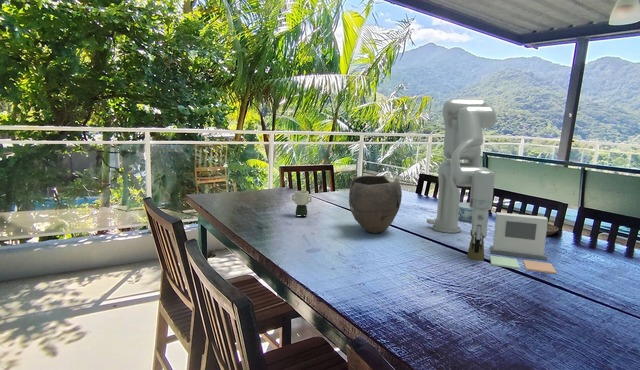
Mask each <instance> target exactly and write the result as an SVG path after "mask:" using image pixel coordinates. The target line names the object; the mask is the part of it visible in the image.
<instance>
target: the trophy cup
mask: <svg viewBox="0 0 640 370" xmlns="http://www.w3.org/2000/svg"><path fill="white" fill-rule="evenodd" d="M291 200H292V201H294V203H295V205H296V208H295V214H296V215H301V216H304V215H307V214H308V208H307V205H309V203H312V201H313V200H312V195H310V193H309V191H308V190H295V191H294V194H292V195H291ZM296 215H295V216H296ZM307 216H308V215H307Z"/></svg>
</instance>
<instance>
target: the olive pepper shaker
mask: <svg viewBox="0 0 640 370" xmlns="http://www.w3.org/2000/svg"><path fill="white" fill-rule="evenodd" d="M475 233H476V232H475ZM469 234H470V237H471V238H470V242H469V247H468V251H467V255H466V257H467V259H469V260H472V261H478V262H479V261H485V246H484V245H485V243H484V242H485V241H484V239H485V238H486V237H484V236H483V234H482V243H481V244H482V249H481V248H480V246H479V252H478V253H475V252H474V247H475V244H474V247H473V249H472V243H473V240H474V236H473V235H472V229H470V233H469ZM475 235H477V234H475ZM480 236H481V234H480ZM475 238H476V237H475Z"/></svg>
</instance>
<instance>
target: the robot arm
mask: <svg viewBox="0 0 640 370" xmlns="http://www.w3.org/2000/svg"><path fill="white" fill-rule="evenodd" d="M442 119H443V124H444V138H443V156H444V158H445V159H448V160H450V161H448V162H446V161H445V162H443V163H441V164H440V165H439V166H438V168H437V177H438V178H437V179H438V194H437V195H438V196H437V208H436V209H437V210H436V217H435V218H434V219H431V218H426V223H427V224H431V225H432V229H433V230H434V231H436V232H440V233H448V234H454V233H455V234H457V233H460V232H461V231H462V228H461V227H460V226H458V225H459V217H460V215H459V204H460V202H461V191H460V190H459V188H458V187H469V188H470V192H469V193H470V195H469V203H470V205H469V207H470V208H473V211H472V221H471V230H472V235H473V236H474V240H473V243H472V249H473V247H474V244H475V247H474V252H475V253H478V252H479V246H480V248H481V249H482V244H481V243H482V234H483V236H484V237H485V238H486V237H487V236H488V235H487V233H488V224H489V223H488V222H489V211H491V210H492V209H493V206H492V205H493V198H494V187H495V177H496V175H495V172H494V171H492V170H490V169H489V168H488V167H484V166H480V165H481V164H480V162H481V157H482V156H481V155H482V145H483V143H484V137H483V129H491V128H493V127H494V126H495V125H496V122H497V113H496V111H495V108H494V107H493V106H492V105H491V104H490V103H488V102H487V101H486V100H484V99H471V98H470V99H468V98H453V99H448V100H446V101H445V102H444V104H443V106H442ZM460 160H462V161H465V160H466V161H467V162H461V161H460ZM475 232H476V233H475ZM475 234H477V235H475ZM480 234H481V236H480ZM475 237H476V238H475Z"/></svg>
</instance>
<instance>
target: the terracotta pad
mask: <svg viewBox="0 0 640 370" xmlns="http://www.w3.org/2000/svg"><path fill="white" fill-rule="evenodd" d="M522 263H523V265H524V268H525V270H526V271H532V272H537V273H546V274H550V275H551V274H552V275H553V274H554V275H557V271H556V269H555V267H554V265H553V264H552V263H549V262H542V261H533V260H528V259H527V260H526V259H522Z"/></svg>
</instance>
